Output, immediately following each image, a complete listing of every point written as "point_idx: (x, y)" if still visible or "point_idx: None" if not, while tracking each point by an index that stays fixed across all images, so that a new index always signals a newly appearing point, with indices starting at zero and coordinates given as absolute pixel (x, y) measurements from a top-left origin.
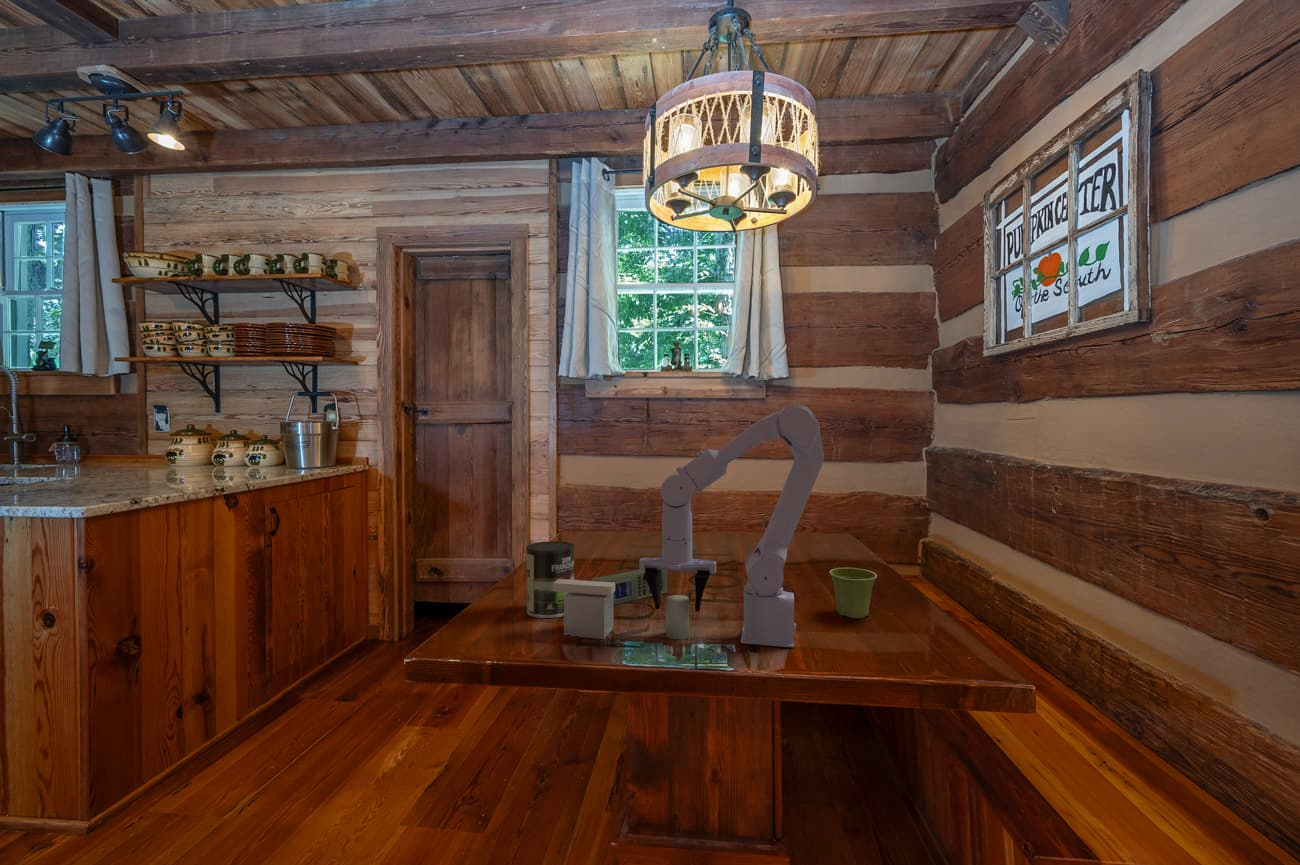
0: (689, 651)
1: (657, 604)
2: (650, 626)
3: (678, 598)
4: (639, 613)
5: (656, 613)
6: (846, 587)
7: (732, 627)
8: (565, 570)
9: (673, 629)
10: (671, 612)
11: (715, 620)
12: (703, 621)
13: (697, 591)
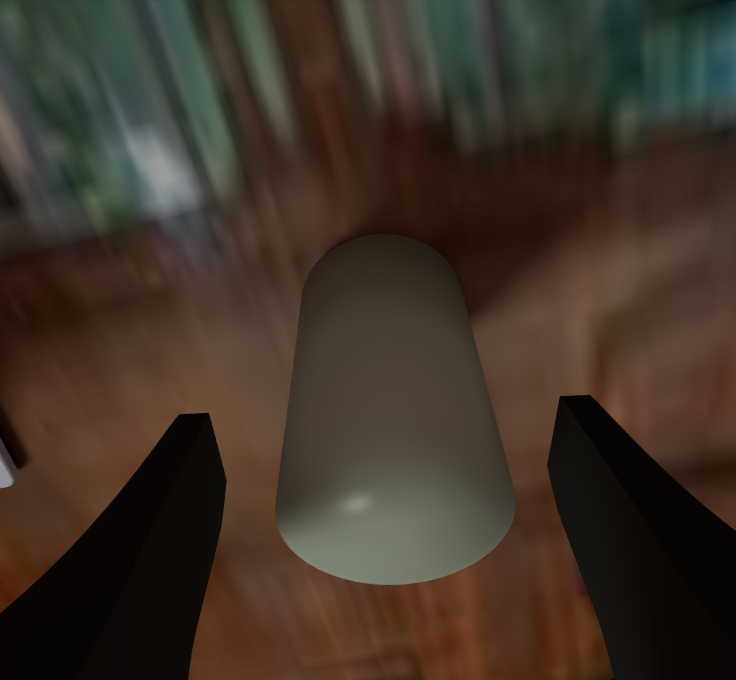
0: (204, 25)
1: (586, 419)
2: (583, 391)
3: (383, 518)
4: None
5: (563, 546)
6: None
7: (94, 479)
8: None
9: (396, 269)
10: (426, 357)
11: (222, 534)
12: None
13: (105, 571)
